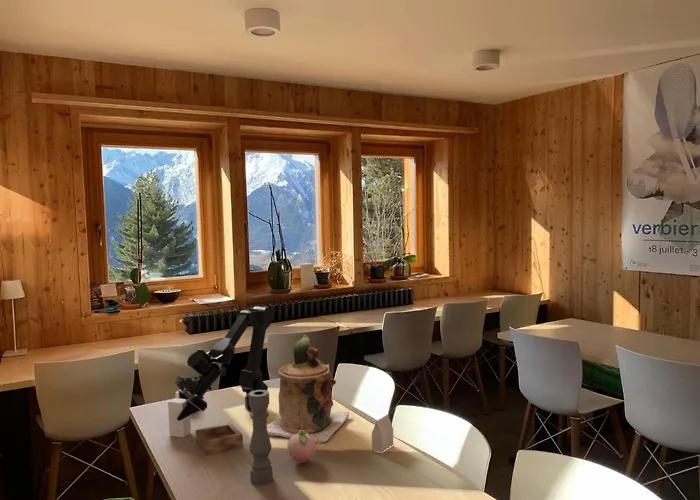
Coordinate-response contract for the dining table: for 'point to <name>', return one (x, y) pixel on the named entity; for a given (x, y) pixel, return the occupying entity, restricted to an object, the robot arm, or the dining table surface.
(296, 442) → the decorative fruit
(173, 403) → the skincare box
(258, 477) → the candle holder
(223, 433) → the walnut holder
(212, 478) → the dining table surface
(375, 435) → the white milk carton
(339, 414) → the cookie jar
